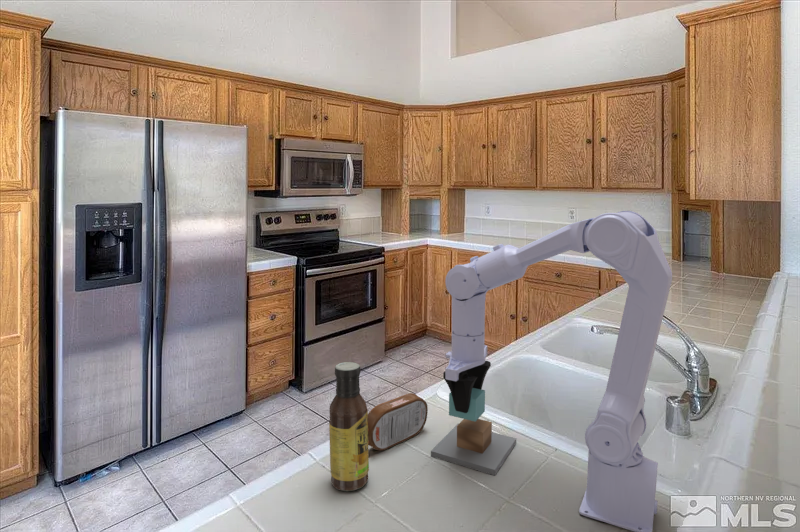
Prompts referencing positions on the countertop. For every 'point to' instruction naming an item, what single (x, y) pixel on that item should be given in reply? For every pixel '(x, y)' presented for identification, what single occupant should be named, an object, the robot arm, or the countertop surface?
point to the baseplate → (472, 459)
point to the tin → (396, 421)
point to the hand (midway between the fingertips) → (467, 405)
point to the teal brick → (470, 406)
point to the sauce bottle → (348, 430)
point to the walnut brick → (474, 435)
